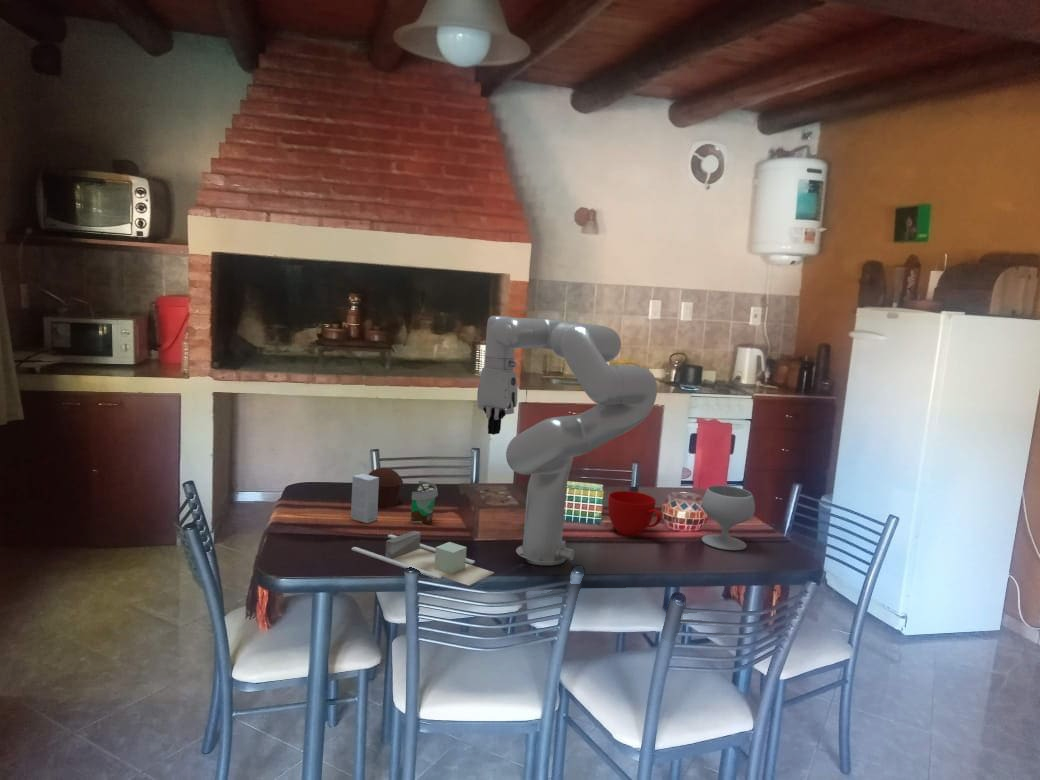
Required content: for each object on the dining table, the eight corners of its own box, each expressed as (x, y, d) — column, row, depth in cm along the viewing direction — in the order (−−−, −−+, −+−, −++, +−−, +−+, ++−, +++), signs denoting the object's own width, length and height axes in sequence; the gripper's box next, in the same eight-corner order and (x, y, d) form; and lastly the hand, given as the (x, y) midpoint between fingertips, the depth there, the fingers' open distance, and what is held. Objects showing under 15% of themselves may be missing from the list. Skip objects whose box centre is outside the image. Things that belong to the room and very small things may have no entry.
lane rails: (474, 567, 179) (475, 560, 178) (437, 584, 167) (438, 577, 167) (390, 540, 192) (391, 534, 192) (351, 554, 181) (351, 548, 180)
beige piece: (494, 576, 173) (496, 555, 173) (468, 589, 165) (470, 567, 164) (413, 550, 186) (414, 530, 185) (385, 561, 178) (386, 540, 177)
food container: (432, 530, 202) (435, 494, 201) (409, 528, 202) (411, 492, 201) (438, 516, 214) (441, 481, 213) (417, 514, 214) (419, 480, 213)
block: (465, 568, 175) (466, 547, 174) (451, 574, 170) (453, 552, 170) (447, 562, 177) (449, 541, 177) (434, 568, 173) (435, 547, 172)
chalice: (750, 540, 215) (757, 489, 213) (749, 556, 202) (756, 501, 200) (699, 532, 219) (705, 481, 217) (695, 547, 206) (701, 493, 204)
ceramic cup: (641, 547, 202) (645, 511, 200) (595, 528, 215) (599, 494, 213) (672, 539, 210) (676, 504, 209) (627, 522, 223) (630, 488, 222)
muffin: (403, 508, 219) (405, 475, 217) (364, 508, 216) (366, 474, 214) (399, 496, 230) (401, 464, 229) (361, 496, 227) (363, 464, 226)
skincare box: (377, 520, 207) (379, 477, 205) (366, 523, 203) (369, 480, 201) (360, 515, 210) (362, 473, 208) (349, 518, 206) (351, 475, 204)
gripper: (531, 366, 196) (525, 436, 199) (483, 359, 204) (478, 427, 207) (515, 368, 190) (509, 440, 193) (467, 361, 198) (462, 430, 200)
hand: (493, 433), depth 200 cm, fingers closed
